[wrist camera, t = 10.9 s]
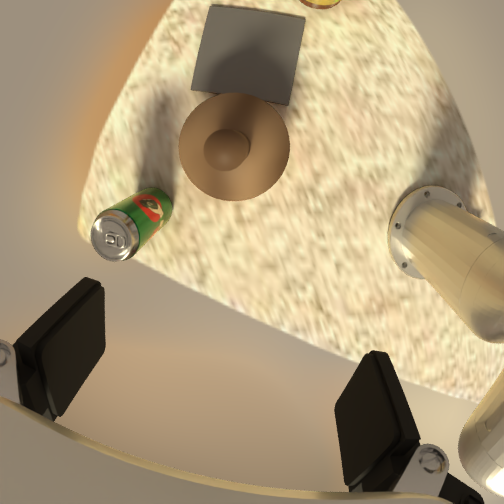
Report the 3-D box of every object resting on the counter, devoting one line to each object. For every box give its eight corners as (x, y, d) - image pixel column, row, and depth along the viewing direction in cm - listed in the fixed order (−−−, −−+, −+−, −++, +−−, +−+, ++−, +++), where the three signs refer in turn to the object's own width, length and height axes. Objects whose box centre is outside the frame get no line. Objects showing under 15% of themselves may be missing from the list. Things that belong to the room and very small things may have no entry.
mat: (304, 20, 28) (305, 19, 27) (288, 105, 32) (288, 105, 31) (210, 7, 28) (209, 6, 27) (191, 90, 32) (190, 89, 31)
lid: (298, 105, 27) (308, 96, 20) (276, 207, 31) (279, 229, 24) (191, 87, 27) (170, 75, 20) (175, 188, 31) (150, 205, 24)
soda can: (137, 183, 36) (87, 207, 25) (175, 189, 36) (137, 216, 25) (134, 222, 38) (87, 259, 27) (171, 229, 38) (134, 270, 27)
